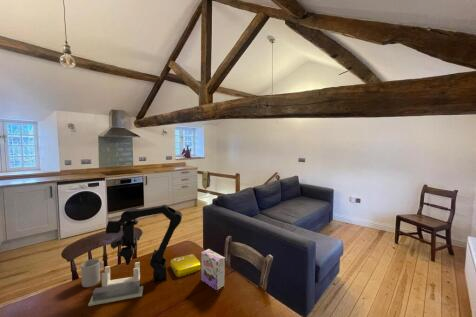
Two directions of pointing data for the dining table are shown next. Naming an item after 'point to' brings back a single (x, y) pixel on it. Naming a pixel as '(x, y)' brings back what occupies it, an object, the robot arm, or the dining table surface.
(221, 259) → the candy box
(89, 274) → the mug
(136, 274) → the rack
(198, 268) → the element tile
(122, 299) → the mat
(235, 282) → the dining table surface
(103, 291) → the rail
